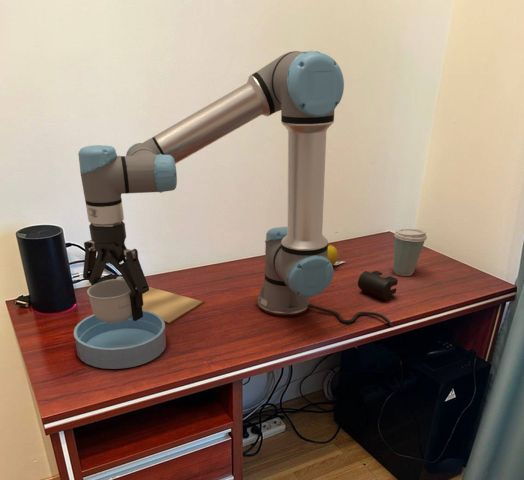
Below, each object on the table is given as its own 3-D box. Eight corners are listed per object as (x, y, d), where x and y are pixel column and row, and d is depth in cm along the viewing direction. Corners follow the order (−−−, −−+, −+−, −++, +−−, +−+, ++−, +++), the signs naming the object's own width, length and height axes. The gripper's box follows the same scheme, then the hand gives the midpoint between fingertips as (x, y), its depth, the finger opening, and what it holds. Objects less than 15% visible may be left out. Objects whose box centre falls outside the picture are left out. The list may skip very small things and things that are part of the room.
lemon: (325, 263, 182) (327, 241, 178) (339, 266, 179) (341, 244, 175) (317, 267, 178) (319, 245, 174) (331, 271, 175) (333, 248, 171)
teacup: (127, 330, 116) (123, 298, 112) (83, 325, 118) (77, 293, 114) (151, 305, 128) (148, 275, 124) (110, 300, 130) (106, 271, 126)
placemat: (203, 302, 151) (203, 301, 150) (169, 324, 138) (169, 322, 138) (150, 288, 159) (149, 286, 158) (113, 307, 147) (113, 305, 146)
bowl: (183, 340, 131) (182, 321, 128) (125, 379, 114) (123, 358, 112) (119, 320, 140) (117, 301, 137) (57, 354, 123) (53, 334, 120)
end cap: (356, 293, 160) (358, 272, 156) (370, 287, 164) (373, 267, 160) (381, 304, 153) (384, 283, 150) (396, 298, 157) (399, 277, 154)
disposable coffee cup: (382, 273, 175) (388, 230, 168) (396, 265, 183) (403, 223, 175) (410, 281, 170) (418, 237, 162) (424, 272, 177) (433, 230, 169)
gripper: (55, 218, 113) (72, 308, 124) (136, 235, 104) (147, 331, 115) (80, 210, 119) (95, 297, 130) (159, 226, 109) (168, 318, 120)
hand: (119, 313), depth 122 cm, fingers closed on teacup, 11 cm apart
